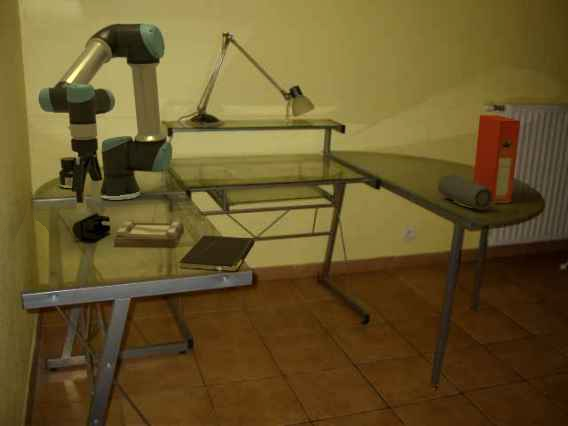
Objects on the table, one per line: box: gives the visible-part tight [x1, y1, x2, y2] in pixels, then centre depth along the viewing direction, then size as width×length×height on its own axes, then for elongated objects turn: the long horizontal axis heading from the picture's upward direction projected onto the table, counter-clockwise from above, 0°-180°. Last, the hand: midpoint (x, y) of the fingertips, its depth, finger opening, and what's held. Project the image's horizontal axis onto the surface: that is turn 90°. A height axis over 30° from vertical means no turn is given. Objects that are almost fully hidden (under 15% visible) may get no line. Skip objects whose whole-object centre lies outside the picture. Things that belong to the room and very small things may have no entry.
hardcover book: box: [178, 234, 255, 269], centre depth 168 cm, size 16×23×2 cm
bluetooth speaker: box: [437, 174, 493, 210], centre depth 222 cm, size 23×9×10 cm, turn 20°
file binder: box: [472, 114, 521, 202], centre depth 228 cm, size 8×17×32 cm, turn 7°
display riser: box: [113, 219, 185, 248], centre depth 181 cm, size 16×18×4 cm
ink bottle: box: [58, 156, 74, 186], centre depth 241 cm, size 10×9×12 cm
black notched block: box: [72, 212, 111, 244], centre depth 181 cm, size 10×7×7 cm
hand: (89, 206), depth 178 cm, fingers open, 13 cm apart
